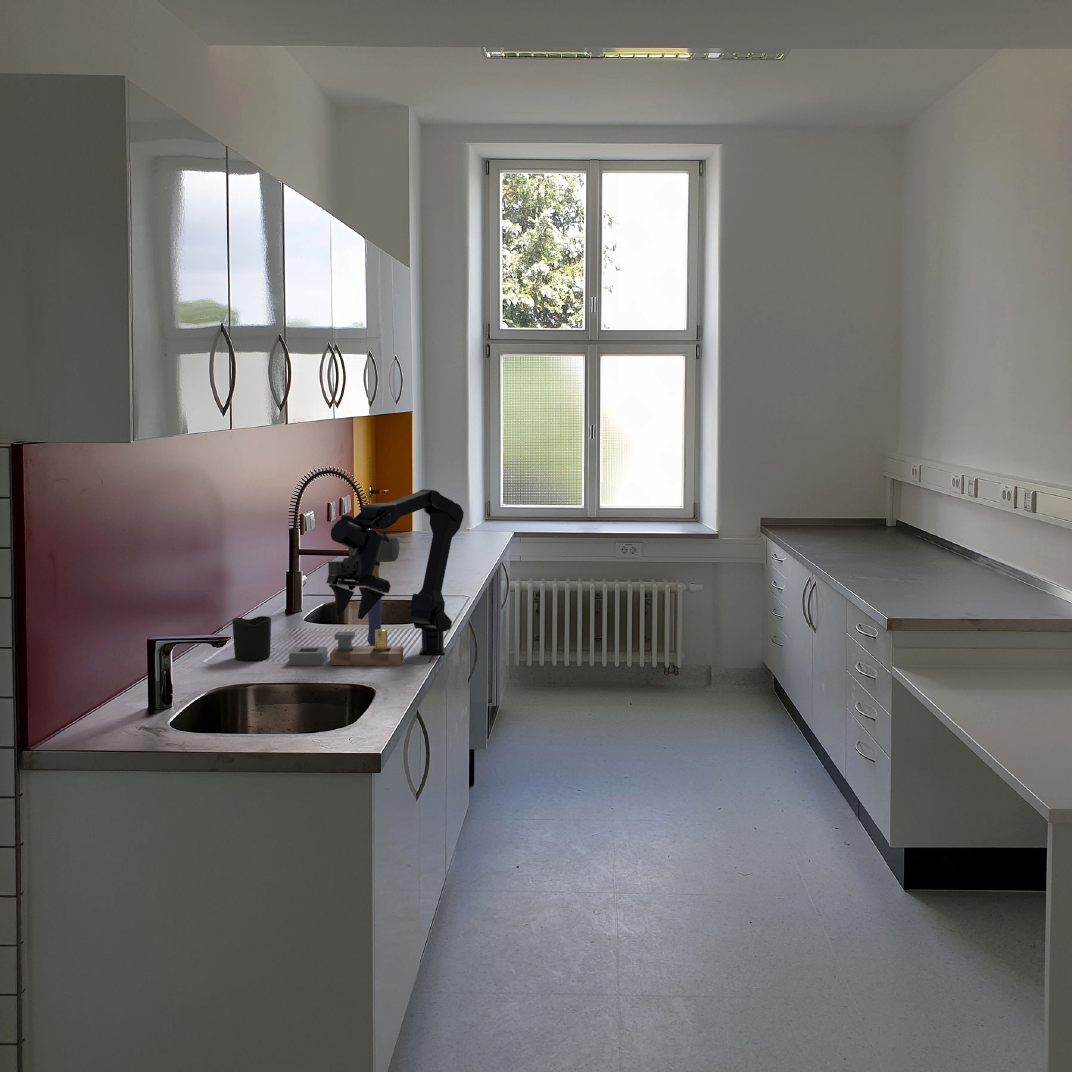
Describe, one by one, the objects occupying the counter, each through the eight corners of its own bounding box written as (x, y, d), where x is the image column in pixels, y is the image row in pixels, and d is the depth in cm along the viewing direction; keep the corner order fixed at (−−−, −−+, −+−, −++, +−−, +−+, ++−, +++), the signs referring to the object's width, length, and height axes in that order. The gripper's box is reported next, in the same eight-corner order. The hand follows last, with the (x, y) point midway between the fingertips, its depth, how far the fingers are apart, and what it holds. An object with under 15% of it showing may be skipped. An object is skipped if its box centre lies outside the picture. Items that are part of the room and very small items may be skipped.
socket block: (335, 658, 268) (335, 646, 268) (403, 657, 269) (403, 646, 269) (330, 665, 259) (329, 653, 259) (399, 665, 260) (399, 653, 260)
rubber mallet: (347, 647, 282) (346, 534, 279) (358, 641, 289) (356, 532, 286) (392, 649, 279) (391, 536, 276) (401, 643, 286) (400, 533, 283)
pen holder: (246, 653, 274) (246, 614, 273) (278, 655, 271) (278, 616, 270) (225, 660, 265) (224, 621, 264) (258, 663, 262) (257, 623, 261)
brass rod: (376, 660, 266) (375, 629, 265) (388, 660, 266) (387, 629, 265) (374, 663, 263) (374, 631, 262) (386, 663, 263) (386, 631, 262)
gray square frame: (295, 658, 268) (295, 646, 267) (327, 658, 268) (327, 646, 268) (289, 665, 260) (289, 653, 259) (322, 665, 260) (322, 653, 260)
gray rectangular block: (337, 649, 266) (337, 631, 265) (355, 649, 266) (354, 631, 266) (334, 653, 261) (334, 635, 261) (352, 653, 262) (352, 634, 261)
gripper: (317, 543, 256) (299, 606, 253) (361, 545, 242) (343, 611, 239) (354, 557, 263) (337, 618, 260) (399, 559, 250) (381, 623, 247)
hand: (348, 617), depth 251 cm, fingers open, 9 cm apart
